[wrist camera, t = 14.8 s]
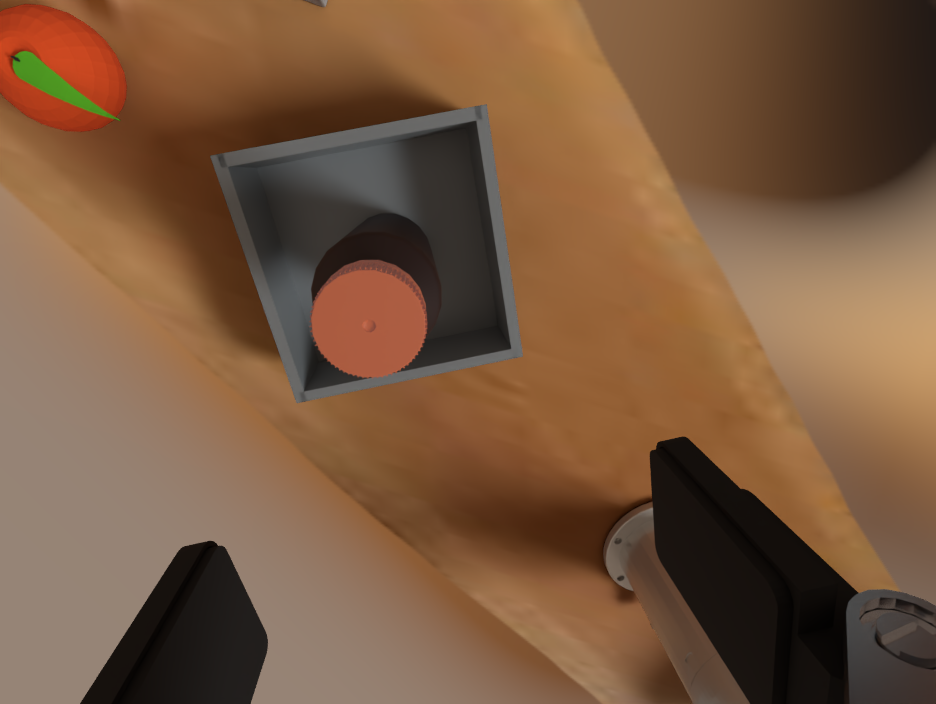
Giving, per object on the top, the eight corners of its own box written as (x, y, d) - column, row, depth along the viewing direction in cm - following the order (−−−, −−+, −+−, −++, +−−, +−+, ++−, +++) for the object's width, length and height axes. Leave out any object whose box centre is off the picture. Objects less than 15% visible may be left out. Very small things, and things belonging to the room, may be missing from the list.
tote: (506, 328, 43) (522, 356, 36) (314, 367, 42) (296, 403, 36) (473, 116, 37) (486, 104, 30) (246, 158, 36) (209, 155, 29)
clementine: (179, 85, 34) (122, 63, 27) (134, 166, 35) (70, 164, 29) (64, -3, 31) (-29, -49, 25) (20, 88, 33) (-78, 68, 26)
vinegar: (448, 255, 39) (482, 323, 20) (392, 312, 40) (375, 427, 21) (387, 193, 37) (361, 206, 18) (329, 256, 38) (250, 328, 19)
